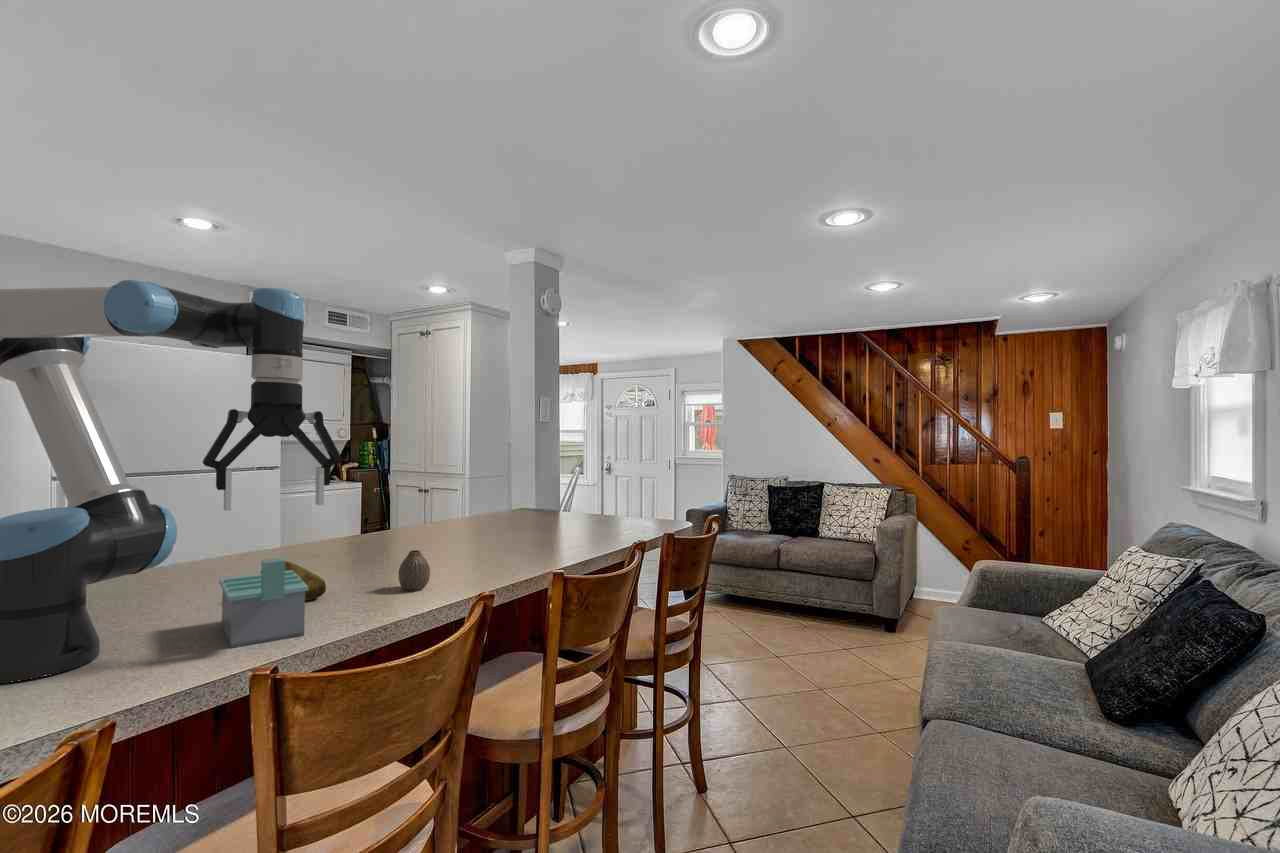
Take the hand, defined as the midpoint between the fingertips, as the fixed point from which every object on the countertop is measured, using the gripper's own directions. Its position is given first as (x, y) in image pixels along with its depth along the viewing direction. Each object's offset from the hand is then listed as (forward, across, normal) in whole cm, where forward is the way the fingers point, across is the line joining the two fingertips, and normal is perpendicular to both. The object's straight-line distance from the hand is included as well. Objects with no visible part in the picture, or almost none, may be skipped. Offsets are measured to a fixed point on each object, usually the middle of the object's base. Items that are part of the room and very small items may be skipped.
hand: (275, 507), depth 105 cm
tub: (+24, 0, +11) cm, 26 cm away
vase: (+24, +32, +24) cm, 46 cm away
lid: (+16, 0, +8) cm, 18 cm away
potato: (+24, +8, +30) cm, 39 cm away
